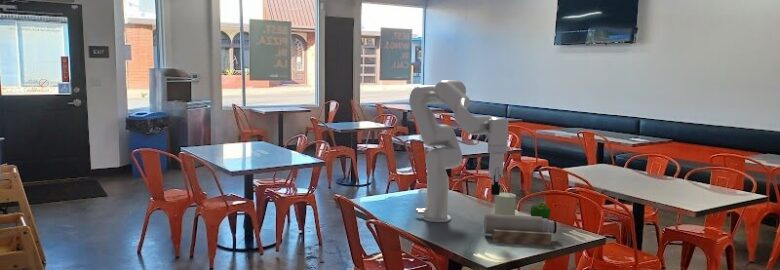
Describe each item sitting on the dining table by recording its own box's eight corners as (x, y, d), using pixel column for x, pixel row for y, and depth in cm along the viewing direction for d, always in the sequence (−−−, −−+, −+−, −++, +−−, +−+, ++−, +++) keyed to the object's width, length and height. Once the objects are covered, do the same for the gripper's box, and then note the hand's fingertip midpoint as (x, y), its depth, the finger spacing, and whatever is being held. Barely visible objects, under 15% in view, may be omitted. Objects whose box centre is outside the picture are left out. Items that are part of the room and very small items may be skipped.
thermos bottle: (483, 232, 242) (553, 236, 240) (485, 234, 234) (557, 238, 232) (484, 212, 242) (554, 216, 240) (485, 214, 235) (558, 218, 232)
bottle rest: (493, 241, 231) (493, 230, 230) (490, 231, 246) (491, 220, 245) (550, 245, 229) (551, 234, 228) (545, 234, 243) (545, 223, 243)
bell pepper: (527, 221, 263) (528, 199, 262) (545, 221, 264) (546, 199, 263) (533, 226, 255) (535, 203, 254) (552, 226, 256) (553, 203, 255)
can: (510, 224, 258) (511, 197, 257) (490, 220, 263) (491, 194, 261) (517, 219, 266) (519, 193, 264) (498, 216, 271) (499, 190, 269)
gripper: (486, 146, 242) (484, 190, 244) (488, 151, 227) (486, 198, 229) (505, 146, 241) (503, 191, 243) (508, 152, 226) (506, 199, 228)
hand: (495, 194), depth 236 cm, fingers closed
